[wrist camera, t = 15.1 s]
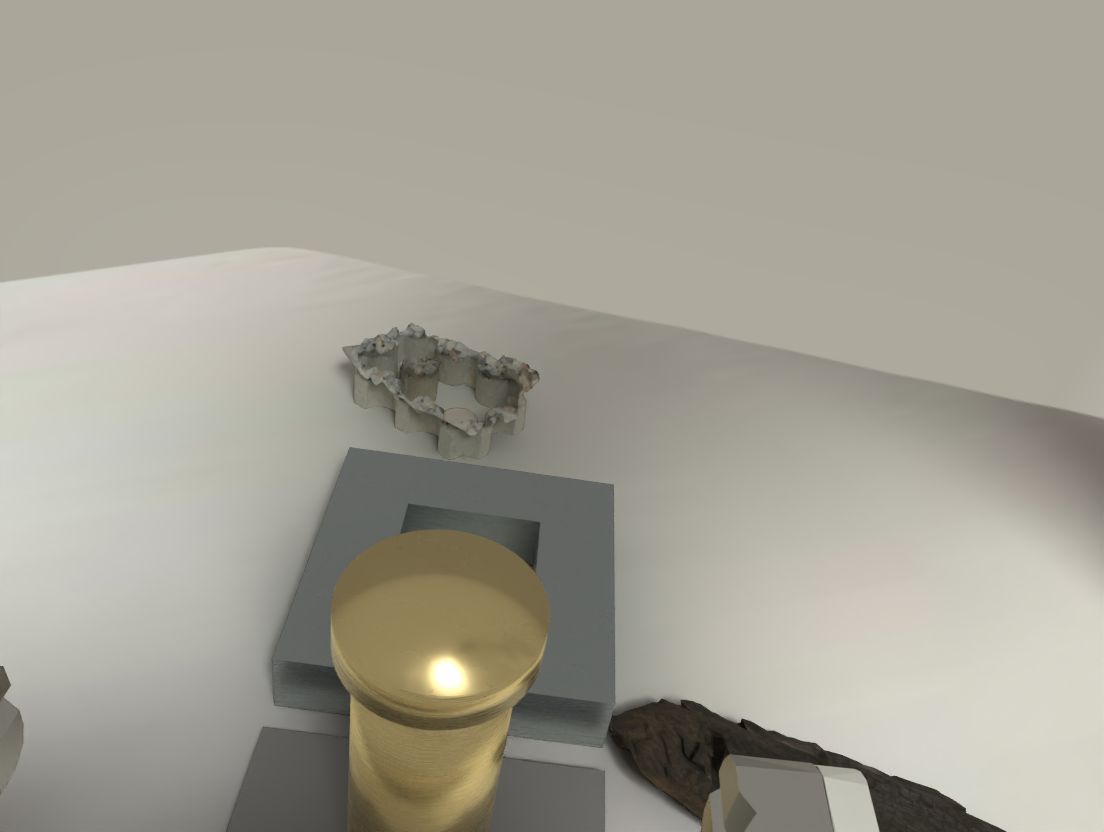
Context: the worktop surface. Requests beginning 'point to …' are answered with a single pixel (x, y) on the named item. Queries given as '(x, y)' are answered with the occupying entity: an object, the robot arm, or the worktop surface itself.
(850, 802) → the robot arm
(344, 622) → the round headed pin
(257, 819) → the mat
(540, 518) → the housing
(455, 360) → the egg carton
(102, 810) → the worktop surface
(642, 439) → the worktop surface
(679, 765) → the wood
